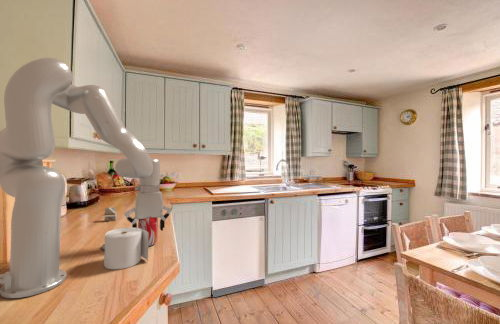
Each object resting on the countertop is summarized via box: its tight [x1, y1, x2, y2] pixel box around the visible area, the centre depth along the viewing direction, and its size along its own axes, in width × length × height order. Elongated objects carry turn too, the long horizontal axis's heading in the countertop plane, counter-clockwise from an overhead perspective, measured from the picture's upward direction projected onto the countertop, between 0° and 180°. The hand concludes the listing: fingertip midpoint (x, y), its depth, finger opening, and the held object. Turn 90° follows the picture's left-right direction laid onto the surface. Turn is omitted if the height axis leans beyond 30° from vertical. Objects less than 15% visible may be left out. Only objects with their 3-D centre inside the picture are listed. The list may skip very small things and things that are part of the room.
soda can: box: [137, 216, 159, 248], centre depth 90 cm, size 7×7×12 cm
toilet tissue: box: [103, 226, 149, 270], centre depth 74 cm, size 11×12×10 cm
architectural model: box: [99, 206, 118, 222], centre depth 120 cm, size 3×7×7 cm, turn 110°
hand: (148, 231), depth 90 cm, fingers open, 9 cm apart
